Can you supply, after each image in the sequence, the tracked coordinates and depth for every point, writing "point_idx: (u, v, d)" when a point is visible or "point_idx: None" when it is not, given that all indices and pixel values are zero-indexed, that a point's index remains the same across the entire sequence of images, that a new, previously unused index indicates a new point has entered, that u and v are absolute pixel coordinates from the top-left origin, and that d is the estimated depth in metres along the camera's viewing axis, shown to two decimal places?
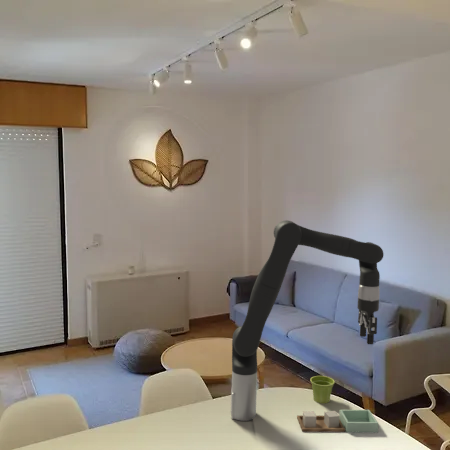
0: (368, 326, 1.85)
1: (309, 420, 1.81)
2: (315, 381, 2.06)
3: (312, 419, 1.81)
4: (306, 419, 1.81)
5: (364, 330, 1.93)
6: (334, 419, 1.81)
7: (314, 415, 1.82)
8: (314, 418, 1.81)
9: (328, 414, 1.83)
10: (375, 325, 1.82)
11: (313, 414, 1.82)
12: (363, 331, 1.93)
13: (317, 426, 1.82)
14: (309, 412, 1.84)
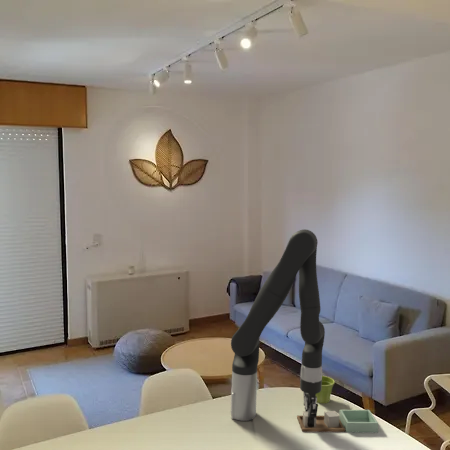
0: (309, 409, 1.80)
1: None
2: None
3: None
4: (306, 419, 1.81)
5: None
6: (334, 419, 1.81)
7: None
8: (314, 418, 1.81)
9: (328, 414, 1.83)
10: (315, 411, 1.77)
11: None
12: None
13: (317, 426, 1.82)
14: None
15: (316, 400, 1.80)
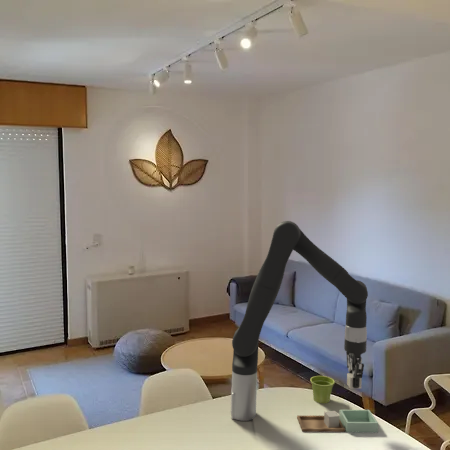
0: (354, 370, 1.78)
1: None
2: (315, 381, 2.06)
3: None
4: (351, 380, 1.79)
5: None
6: (334, 419, 1.81)
7: None
8: None
9: (328, 414, 1.83)
10: (361, 371, 1.75)
11: None
12: None
13: (317, 426, 1.82)
14: None
15: (361, 361, 1.79)
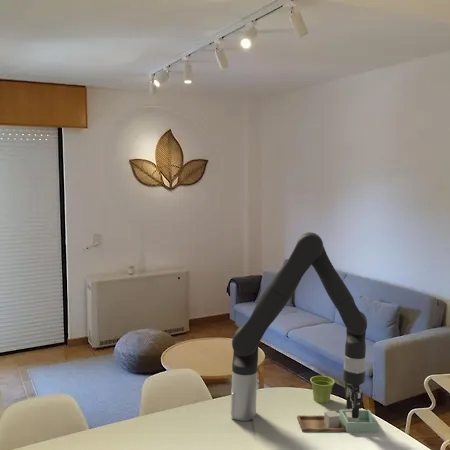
0: (353, 400, 1.79)
1: (352, 420, 1.81)
2: (315, 381, 2.06)
3: (355, 420, 1.81)
4: (349, 420, 1.81)
5: (351, 402, 1.86)
6: (334, 419, 1.81)
7: None
8: (357, 419, 1.81)
9: (328, 414, 1.83)
10: (360, 400, 1.76)
11: None
12: (350, 403, 1.86)
13: (317, 426, 1.82)
14: (351, 413, 1.84)
15: (360, 391, 1.80)
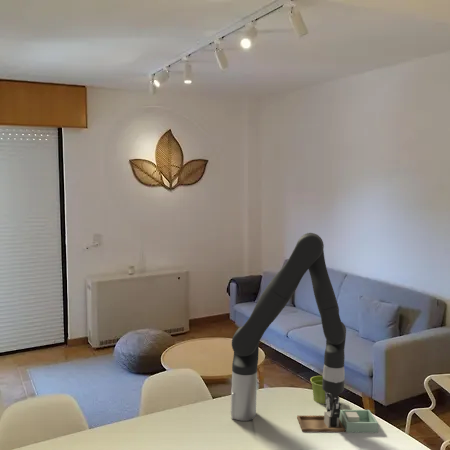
0: (332, 409, 1.80)
1: (352, 420, 1.81)
2: (315, 381, 2.06)
3: (355, 420, 1.81)
4: (349, 420, 1.81)
5: None
6: None
7: (357, 416, 1.82)
8: (357, 419, 1.81)
9: (328, 414, 1.83)
10: (338, 411, 1.77)
11: (356, 415, 1.83)
12: None
13: (317, 426, 1.82)
14: (351, 413, 1.84)
15: (338, 400, 1.81)
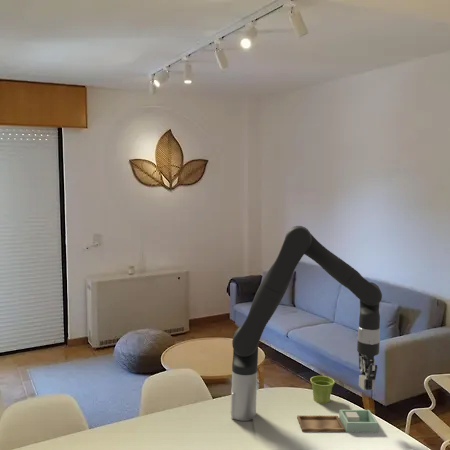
0: (367, 371, 1.79)
1: (352, 420, 1.81)
2: (315, 381, 2.06)
3: (355, 420, 1.81)
4: (349, 420, 1.81)
5: None
6: None
7: (357, 416, 1.82)
8: (357, 419, 1.81)
9: (363, 377, 1.81)
10: (374, 373, 1.75)
11: (356, 415, 1.83)
12: None
13: (317, 426, 1.82)
14: (351, 413, 1.84)
15: (374, 362, 1.79)
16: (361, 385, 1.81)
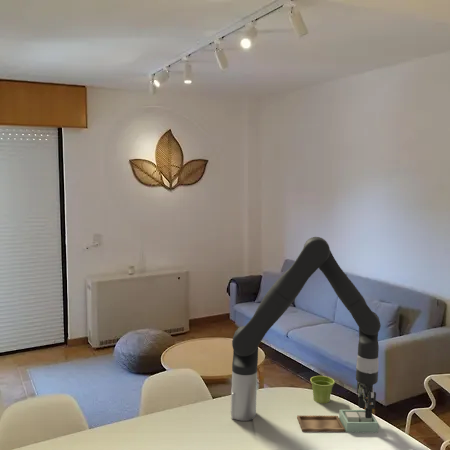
0: (366, 399, 1.79)
1: (352, 420, 1.81)
2: (315, 381, 2.06)
3: (355, 420, 1.81)
4: (349, 420, 1.81)
5: (363, 401, 1.86)
6: (366, 419, 1.81)
7: (357, 416, 1.82)
8: (357, 419, 1.81)
9: (361, 414, 1.83)
10: (374, 400, 1.76)
11: (356, 415, 1.83)
12: (362, 402, 1.86)
13: (317, 426, 1.82)
14: (351, 413, 1.84)
15: (373, 390, 1.80)
16: None
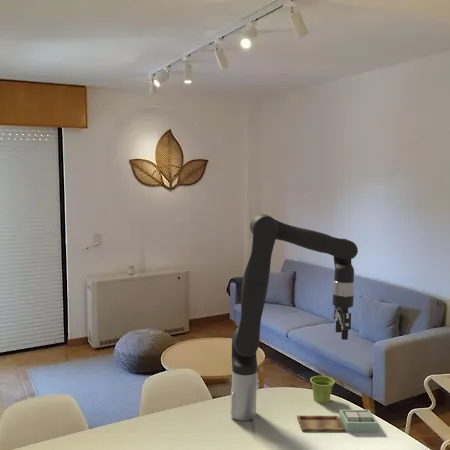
0: (342, 322, 1.86)
1: (352, 420, 1.81)
2: (315, 381, 2.06)
3: (355, 420, 1.81)
4: (349, 420, 1.81)
5: (340, 326, 1.94)
6: (366, 419, 1.81)
7: (357, 416, 1.82)
8: (357, 419, 1.81)
9: (361, 414, 1.83)
10: (349, 321, 1.83)
11: (356, 415, 1.83)
12: (339, 327, 1.94)
13: (317, 426, 1.82)
14: (351, 413, 1.84)
15: None
16: None
